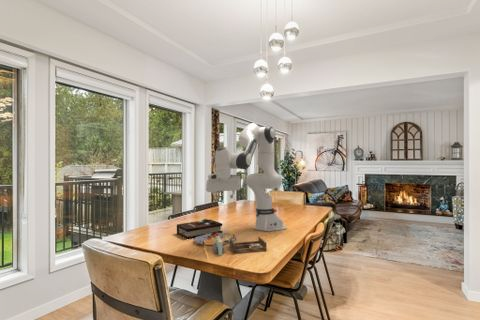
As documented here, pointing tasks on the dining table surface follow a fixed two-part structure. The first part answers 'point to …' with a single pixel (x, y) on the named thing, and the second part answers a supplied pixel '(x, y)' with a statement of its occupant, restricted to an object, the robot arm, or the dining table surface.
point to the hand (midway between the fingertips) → (223, 198)
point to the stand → (216, 249)
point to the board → (219, 245)
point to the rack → (244, 246)
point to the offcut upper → (255, 245)
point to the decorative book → (198, 228)
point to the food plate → (214, 237)
